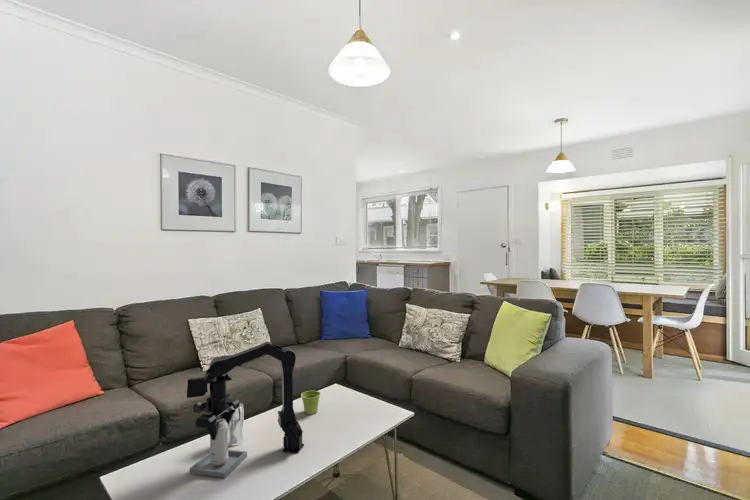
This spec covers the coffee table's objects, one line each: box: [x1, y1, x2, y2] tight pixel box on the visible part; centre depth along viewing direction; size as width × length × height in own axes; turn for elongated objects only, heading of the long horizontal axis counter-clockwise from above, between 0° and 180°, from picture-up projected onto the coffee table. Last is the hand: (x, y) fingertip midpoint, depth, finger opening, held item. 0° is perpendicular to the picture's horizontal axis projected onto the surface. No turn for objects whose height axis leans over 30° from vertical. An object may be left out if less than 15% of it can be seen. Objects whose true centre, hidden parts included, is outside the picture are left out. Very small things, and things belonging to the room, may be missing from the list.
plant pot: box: [300, 390, 321, 415], centre depth 183 cm, size 9×9×9 cm
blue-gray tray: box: [188, 449, 248, 480], centre depth 138 cm, size 14×14×2 cm
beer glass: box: [228, 402, 245, 447], centre depth 155 cm, size 7×7×15 cm
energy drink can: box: [209, 418, 229, 466], centre depth 138 cm, size 6×6×15 cm
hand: (219, 435), depth 138 cm, fingers closed on energy drink can, 6 cm apart
